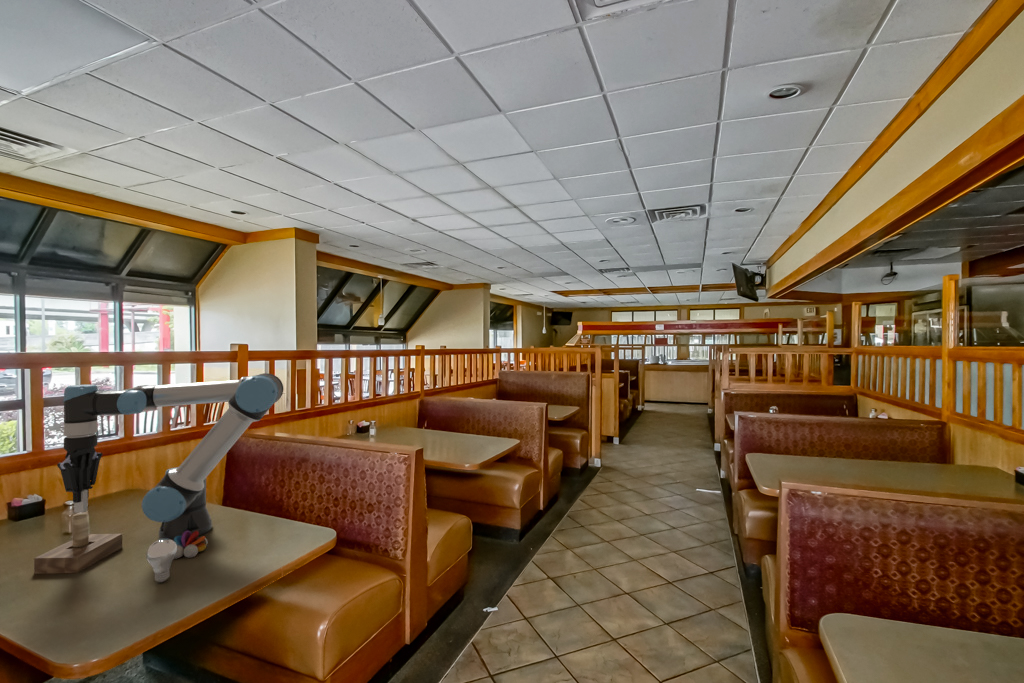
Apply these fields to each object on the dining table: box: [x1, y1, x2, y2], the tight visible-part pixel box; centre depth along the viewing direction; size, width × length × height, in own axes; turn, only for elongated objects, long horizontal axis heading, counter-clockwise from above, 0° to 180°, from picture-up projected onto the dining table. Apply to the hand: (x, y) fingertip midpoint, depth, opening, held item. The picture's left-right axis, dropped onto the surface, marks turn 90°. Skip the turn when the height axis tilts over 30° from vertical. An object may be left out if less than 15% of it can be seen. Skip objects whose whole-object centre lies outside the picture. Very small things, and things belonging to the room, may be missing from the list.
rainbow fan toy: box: [173, 531, 209, 560], centre depth 143 cm, size 8×10×7 cm
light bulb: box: [145, 538, 178, 584], centre depth 126 cm, size 7×7×12 cm
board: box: [33, 533, 123, 575], centre depth 139 cm, size 12×16×4 cm
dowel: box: [71, 511, 90, 549], centre depth 139 cm, size 4×4×14 cm
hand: (80, 511), depth 139 cm, fingers closed
